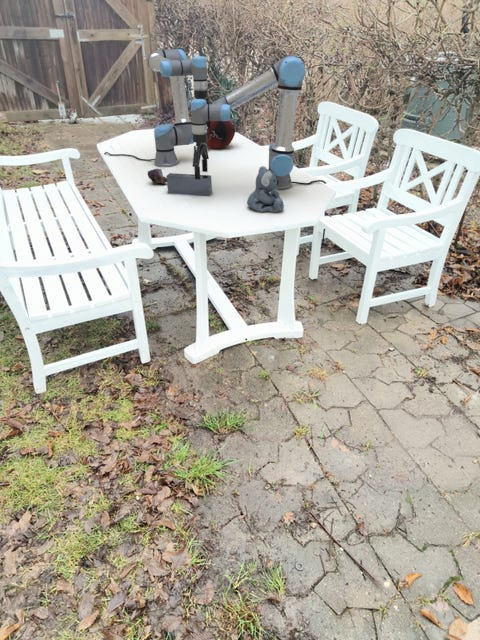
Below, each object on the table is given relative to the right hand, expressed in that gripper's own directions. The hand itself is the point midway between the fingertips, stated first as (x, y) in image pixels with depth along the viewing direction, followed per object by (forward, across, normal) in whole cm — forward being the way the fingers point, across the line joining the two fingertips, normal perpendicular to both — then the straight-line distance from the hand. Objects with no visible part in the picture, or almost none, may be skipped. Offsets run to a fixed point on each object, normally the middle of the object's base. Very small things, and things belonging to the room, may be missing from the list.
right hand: (201, 175), depth 239 cm
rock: (+10, +13, +31) cm, 35 cm away
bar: (+10, 0, +7) cm, 12 cm away
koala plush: (+10, -14, -37) cm, 41 cm away
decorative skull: (+10, +102, +17) cm, 104 cm away
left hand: (-16, +29, +7) cm, 34 cm away
